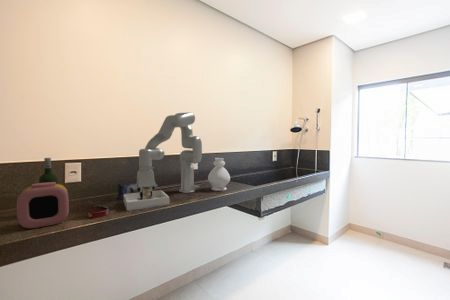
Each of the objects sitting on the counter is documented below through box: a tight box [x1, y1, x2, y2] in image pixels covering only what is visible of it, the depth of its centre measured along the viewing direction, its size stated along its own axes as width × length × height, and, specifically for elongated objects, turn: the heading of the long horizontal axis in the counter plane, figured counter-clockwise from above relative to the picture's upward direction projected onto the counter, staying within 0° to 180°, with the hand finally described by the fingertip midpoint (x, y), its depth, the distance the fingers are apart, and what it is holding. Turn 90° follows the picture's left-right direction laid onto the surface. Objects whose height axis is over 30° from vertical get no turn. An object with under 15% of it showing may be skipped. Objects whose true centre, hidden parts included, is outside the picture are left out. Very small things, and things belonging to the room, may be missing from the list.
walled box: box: [123, 189, 170, 212], centre depth 140 cm, size 24×20×5 cm
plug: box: [142, 187, 151, 200], centre depth 139 cm, size 4×4×7 cm
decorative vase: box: [207, 157, 231, 192], centre depth 180 cm, size 18×18×25 cm
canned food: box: [86, 200, 109, 219], centre depth 119 cm, size 11×10×10 cm
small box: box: [117, 181, 137, 201], centre depth 152 cm, size 11×6×10 cm, turn 129°
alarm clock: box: [16, 182, 70, 229], centre depth 106 cm, size 18×11×19 cm, turn 126°
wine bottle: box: [38, 157, 59, 184], centre depth 120 cm, size 8×8×30 cm
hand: (146, 197), depth 140 cm, fingers closed on plug, 4 cm apart
